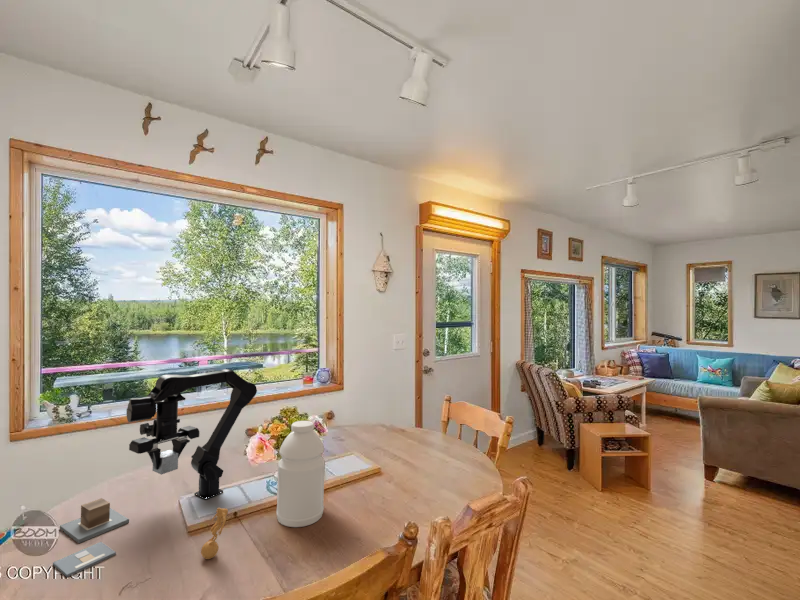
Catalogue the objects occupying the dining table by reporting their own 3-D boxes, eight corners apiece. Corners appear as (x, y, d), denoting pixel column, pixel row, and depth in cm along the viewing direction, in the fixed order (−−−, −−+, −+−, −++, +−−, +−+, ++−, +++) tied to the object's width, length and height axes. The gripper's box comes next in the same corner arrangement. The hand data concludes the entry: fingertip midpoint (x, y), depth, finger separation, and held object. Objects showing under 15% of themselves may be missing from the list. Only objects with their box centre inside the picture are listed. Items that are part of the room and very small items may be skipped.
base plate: (128, 522, 115) (128, 518, 115) (78, 543, 105) (78, 539, 105) (108, 510, 121) (109, 506, 121) (59, 529, 111) (59, 525, 111)
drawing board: (115, 554, 100) (115, 551, 100) (67, 577, 92) (67, 574, 92) (100, 543, 105) (100, 541, 105) (52, 564, 96) (53, 561, 96)
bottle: (274, 508, 125) (276, 419, 125) (318, 500, 130) (320, 415, 131) (279, 532, 112) (282, 432, 112) (327, 523, 117) (330, 427, 118)
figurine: (198, 551, 102) (199, 504, 103) (223, 544, 106) (224, 498, 106) (203, 569, 96) (205, 519, 96) (230, 560, 99) (231, 512, 99)
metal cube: (177, 468, 124) (178, 452, 124) (161, 474, 120) (162, 458, 120) (168, 465, 127) (169, 449, 127) (152, 470, 123) (153, 454, 123)
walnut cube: (109, 520, 114) (109, 502, 114) (88, 528, 109) (89, 510, 110) (101, 515, 116) (101, 498, 116) (80, 523, 112) (81, 505, 112)
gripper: (181, 406, 136) (180, 451, 136) (120, 418, 120) (118, 470, 120) (201, 411, 130) (199, 459, 130) (140, 425, 114) (138, 479, 114)
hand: (165, 466), depth 124 cm, fingers closed on metal cube, 5 cm apart
